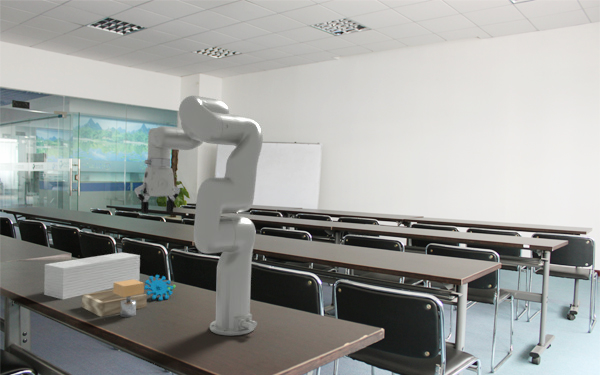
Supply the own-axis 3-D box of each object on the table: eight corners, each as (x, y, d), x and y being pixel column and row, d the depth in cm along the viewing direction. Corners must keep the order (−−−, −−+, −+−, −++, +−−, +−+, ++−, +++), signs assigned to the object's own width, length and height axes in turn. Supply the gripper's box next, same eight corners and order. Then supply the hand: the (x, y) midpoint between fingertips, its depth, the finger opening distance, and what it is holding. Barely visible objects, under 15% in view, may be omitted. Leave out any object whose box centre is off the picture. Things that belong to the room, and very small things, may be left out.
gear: (147, 298, 149) (143, 273, 156) (141, 308, 152) (138, 282, 159) (178, 298, 156) (174, 274, 162) (172, 307, 159) (168, 283, 165)
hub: (143, 293, 137) (144, 282, 137) (123, 297, 132) (123, 286, 132) (133, 289, 141) (133, 279, 141) (113, 293, 136) (113, 282, 136)
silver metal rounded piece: (138, 315, 137) (139, 294, 137) (124, 318, 134) (125, 296, 133) (131, 311, 140) (131, 291, 140) (117, 314, 136) (118, 293, 136)
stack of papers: (121, 278, 184) (121, 252, 184) (139, 282, 179) (139, 255, 179) (44, 295, 157) (44, 264, 156) (62, 300, 151) (63, 268, 151)
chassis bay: (146, 307, 145) (146, 294, 145) (100, 316, 134) (100, 303, 134) (126, 298, 154) (126, 287, 154) (81, 307, 143) (81, 294, 143)
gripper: (141, 163, 149) (140, 214, 149) (186, 165, 162) (184, 212, 162) (130, 162, 153) (128, 212, 154) (174, 164, 167) (172, 210, 167)
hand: (157, 212), depth 158 cm, fingers open, 9 cm apart
